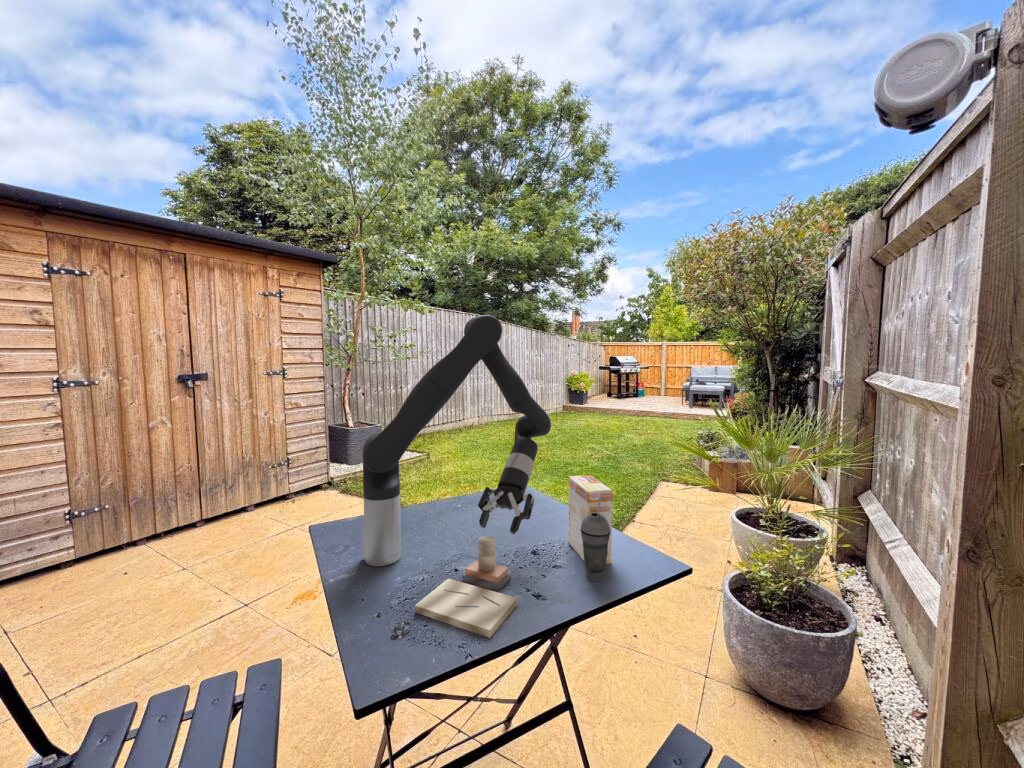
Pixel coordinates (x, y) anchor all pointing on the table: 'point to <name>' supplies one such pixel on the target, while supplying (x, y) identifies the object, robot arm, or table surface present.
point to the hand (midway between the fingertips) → (496, 529)
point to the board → (467, 607)
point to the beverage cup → (595, 544)
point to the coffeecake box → (587, 508)
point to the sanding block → (486, 567)
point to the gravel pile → (401, 630)
